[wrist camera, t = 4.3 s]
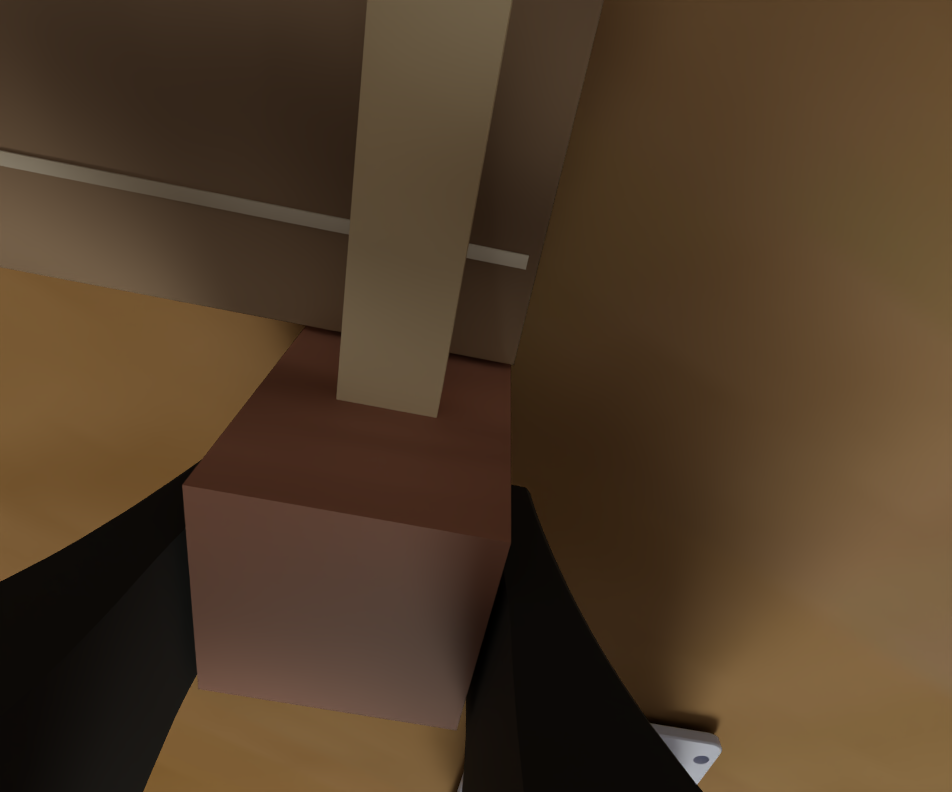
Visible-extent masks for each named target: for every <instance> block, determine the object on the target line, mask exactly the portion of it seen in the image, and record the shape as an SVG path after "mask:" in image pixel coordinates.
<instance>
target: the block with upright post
mask: <svg viewBox="0 0 952 792" xmlns="http://www.w3.org/2000/svg"><path fill="white" fill-rule="evenodd" d="M512 2H513V0H367V11H366V24H365V37H364V49H363V62H362V75H361V88H360V101H359V113H358V126H357V139H356V152H355V165H354V177H353V190H352V203H351V216H350V229H349V242H348V254H347V267H346V280H345V293H344V306H343V318H342V331H341V332H338V331H333V330H328V329H322V328H317V327H312V326H307V325H306V327H305V328H304V329H303V330H302V332H301V333H300V334H299V335H298V337H297V338H296V339H295V341H294V342H293V343H292V344H291V346H290V347H289V348H288V350H287V351H286V352H285V353H284V355H283V356H282V357H281V359H280V360H279V361H278V362H277V364H276V365H275V366H274V368H273V369H272V370H271V371H270V373H269V374H268V375H267V377H266V378H265V379H264V380H263V382H262V383H261V384H260V386H259V387H258V388H257V389H256V391H255V392H254V393H253V395H252V396H251V397H250V398H249V400H248V401H247V402H246V404H245V405H244V406H243V407H242V409H241V410H240V411H239V413H238V414H237V415H236V416H235V418H234V419H233V420H232V422H231V423H230V424H229V425H228V427H227V428H226V429H225V431H224V432H223V433H222V434H221V436H220V437H219V438H218V440H217V441H216V442H215V443H214V445H213V446H212V447H211V449H210V450H209V451H208V452H207V454H206V455H205V456H204V458H203V459H202V460H201V461H200V463H199V464H198V465H197V467H196V468H195V469H194V470H193V472H192V473H191V474H190V476H189V477H188V478H187V479H186V481H185V482H184V483H183V485H182V488H183V501H184V513H185V526H186V538H187V551H188V563H189V576H190V589H191V601H192V614H193V626H194V639H195V651H196V664H197V677H198V689H202V690H208V691H214V692H220V693H227V694H233V695H239V696H245V697H252V698H258V699H264V700H270V701H277V702H283V703H289V704H295V705H302V706H308V707H314V708H320V709H327V710H333V711H339V712H345V713H352V714H358V715H364V716H370V717H377V718H383V719H389V720H395V721H402V722H408V723H414V724H420V725H427V726H433V727H439V728H445V729H452V730H457V727H458V724H459V720H460V717H461V713H462V710H463V706H464V703H465V700H466V696H467V693H468V689H469V686H470V682H471V679H472V675H473V672H474V669H475V665H476V662H477V658H478V655H479V651H480V648H481V644H482V641H483V638H484V634H485V631H486V627H487V624H488V620H489V617H490V613H491V610H492V607H493V603H494V600H495V596H496V593H497V589H498V586H499V582H500V579H501V576H502V572H503V569H504V565H505V562H506V558H507V555H508V551H509V548H510V545H511V364H506V363H501V362H496V361H491V360H485V359H480V358H475V357H470V356H464V355H459V354H454V353H449V351H450V345H451V340H452V334H453V329H454V323H455V318H456V312H457V307H458V301H459V296H460V290H461V285H462V279H463V274H464V268H465V262H466V257H467V251H468V246H469V240H470V235H471V229H472V224H473V218H474V213H475V207H476V202H477V196H478V190H479V185H480V179H481V174H482V168H483V163H484V157H485V152H486V146H487V141H488V135H489V130H490V124H491V119H492V113H493V107H494V102H495V96H496V91H497V85H498V80H499V74H500V69H501V63H502V58H503V52H504V47H505V41H506V35H507V30H508V24H509V19H510V13H511V8H512Z"/></svg>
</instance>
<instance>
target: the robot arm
mask: <svg viewBox="0 0 952 792" xmlns="http://www.w3.org/2000/svg"><path fill="white" fill-rule="evenodd" d="M200 461H201V460H200ZM200 461H199V462H198V463H196V464H195V465H193V466H192V467H191V468H189V469H188V470H186V471H185V472H183V473H182V474H181V475H179V476H178V477H176V478H175V479H173V480H172V481H170V482H169V483H167V484H166V485H164V486H163V487H161V488H160V489H159V490H157V491H156V492H154V493H153V494H151V495H150V496H148V497H147V498H145V499H144V500H142V501H141V502H139V503H138V504H136V505H135V506H133V507H131V508H130V509H128V510H127V511H125V512H124V513H122V514H120V515H119V516H117V517H115V518H114V519H112V520H111V521H109V522H107V523H106V524H104V525H102V526H101V527H99V528H97V529H96V530H94V531H93V532H91V533H89V534H88V535H86V536H84V537H83V538H81V539H79V540H78V541H76V542H74V543H72V544H71V545H69V546H67V547H65V548H64V549H62V550H60V551H58V552H56V553H55V554H53V555H51V556H49V557H47V558H46V559H44V560H42V561H40V562H38V563H36V564H34V565H32V566H30V567H28V568H26V569H24V570H22V571H20V572H18V573H16V574H15V575H13V576H11V577H9V578H7V579H5V580H3V581H1V582H0V792H143V791H144V788H145V786H146V783H147V781H148V779H149V776H150V774H151V772H152V769H153V767H154V765H155V762H156V760H157V758H158V755H159V753H160V751H161V748H162V746H163V744H164V741H165V739H166V737H167V735H168V732H169V730H170V728H171V725H172V723H173V721H174V718H175V716H176V714H177V712H178V710H179V708H180V706H181V704H182V702H183V700H184V698H185V696H186V694H187V692H188V690H189V688H190V686H191V684H192V683H193V681H194V679H195V677H196V675H197V664H196V651H195V639H194V626H193V614H192V601H191V589H190V576H189V563H188V551H187V538H186V526H185V513H184V501H183V488H182V485H183V483H184V482H185V481H186V479H187V478H188V477H189V476H190V474H191V473H192V472H193V470H194V469H195V468H196V467H197V465H198V464H199V463H200ZM721 751H722V748H721V744H720V741H719V738H718V737H717V736H716V735H714V734H711V733H707V732H701V731H695V730H689V729H683V728H677V727H671V726H665V725H659V724H653V723H650V722H649V721H648V720H647V718H646V717H645V715H644V714H643V712H642V711H641V710H640V708H639V707H638V705H637V704H636V702H635V701H634V699H633V698H632V696H631V695H630V693H629V692H628V690H627V689H626V687H625V686H624V684H623V683H622V681H621V680H620V678H619V677H618V675H617V673H616V672H615V670H614V669H613V667H612V666H611V664H610V662H609V661H608V659H607V658H606V656H605V654H604V653H603V651H602V649H601V648H600V646H599V644H598V642H597V641H596V639H595V637H594V635H593V634H592V632H591V630H590V628H589V626H588V625H587V623H586V621H585V619H584V617H583V615H582V613H581V612H580V610H579V608H578V606H577V604H576V602H575V600H574V598H573V596H572V594H571V592H570V590H569V588H568V586H567V584H566V582H565V580H564V577H563V575H562V573H561V571H560V569H559V567H558V565H557V562H556V560H555V558H554V556H553V553H552V551H551V549H550V546H549V544H548V542H547V539H546V537H545V534H544V532H543V529H542V527H541V524H540V521H539V519H538V516H537V513H536V510H535V507H534V504H533V501H532V498H531V495H530V493H529V491H528V490H527V489H526V488H525V487H520V486H514V485H511V545H510V548H509V551H508V555H507V558H506V562H505V565H504V569H503V572H502V576H501V579H500V582H499V586H498V589H497V593H496V596H495V600H494V603H493V607H492V610H491V613H490V617H489V620H488V624H487V627H486V631H485V634H484V638H483V641H482V644H481V648H480V651H479V655H478V658H477V662H476V665H475V669H474V672H473V675H472V679H471V682H470V686H469V689H468V693H467V696H466V742H465V763H464V773H463V776H462V779H461V782H460V785H459V788H458V791H457V792H703V791H702V790H701V789H700V788H699V786H698V785H697V784H698V783H699V781H700V780H701V779H702V777H703V776H704V775H705V773H706V772H707V771H708V769H709V768H710V767H711V765H712V764H713V763H714V761H715V760H716V759H717V757H718V756H719V755H720V753H721Z"/></svg>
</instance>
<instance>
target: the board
mask: <svg viewBox="0 0 952 792" xmlns="http://www.w3.org/2000/svg"><path fill="white" fill-rule="evenodd" d="M603 2H604V0H513V2H512V8H511V13H510V19H509V24H508V30H507V35H506V41H505V47H504V52H503V58H502V63H501V69H500V74H499V80H498V85H497V91H496V96H495V102H494V107H493V113H492V119H491V124H490V130H489V135H488V141H487V146H486V152H485V157H484V163H483V168H482V174H481V179H480V185H479V190H478V196H477V202H476V207H475V213H474V218H473V224H472V229H471V235H470V240H469V246H468V251H467V257H466V262H465V268H464V274H463V279H462V285H461V290H460V296H459V301H458V307H457V312H456V318H455V323H454V329H453V334H452V340H451V345H450V351H449V353H454V354H459V355H464V356H470V357H475V358H480V359H485V360H491V361H496V362H501V363H506V364H512V365H514V362H515V358H516V354H517V350H518V346H519V342H520V337H521V333H522V329H523V325H524V321H525V317H526V313H527V309H528V305H529V301H530V297H531V293H532V289H533V285H534V281H535V277H536V273H537V269H538V265H539V261H540V257H541V253H542V249H543V245H544V240H545V236H546V232H547V228H548V224H549V220H550V216H551V212H552V208H553V204H554V200H555V196H556V192H557V188H558V184H559V180H560V176H561V172H562V168H563V164H564V160H565V156H566V152H567V147H568V143H569V139H570V135H571V131H572V127H573V123H574V119H575V115H576V111H577V107H578V103H579V99H580V95H581V91H582V87H583V83H584V79H585V75H586V71H587V67H588V63H589V59H590V55H591V50H592V46H593V42H594V38H595V34H596V30H597V26H598V22H599V18H600V14H601V10H602V6H603ZM366 11H367V0H0V267H2V268H7V269H13V270H18V271H23V272H28V273H34V274H39V275H44V276H49V277H55V278H60V279H65V280H70V281H76V282H81V283H86V284H91V285H97V286H102V287H107V288H112V289H118V290H123V291H128V292H133V293H139V294H144V295H149V296H154V297H160V298H165V299H170V300H175V301H181V302H186V303H191V304H196V305H202V306H207V307H212V308H217V309H223V310H228V311H233V312H238V313H244V314H249V315H254V316H259V317H265V318H270V319H275V320H280V321H286V322H291V323H296V324H301V325H307V326H312V327H317V328H322V329H328V330H333V331H338V332H341V331H342V318H343V306H344V293H345V280H346V267H347V254H348V242H349V229H350V216H351V203H352V190H353V177H354V165H355V152H356V139H357V126H358V113H359V101H360V88H361V75H362V62H363V49H364V37H365V24H366Z"/></svg>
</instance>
